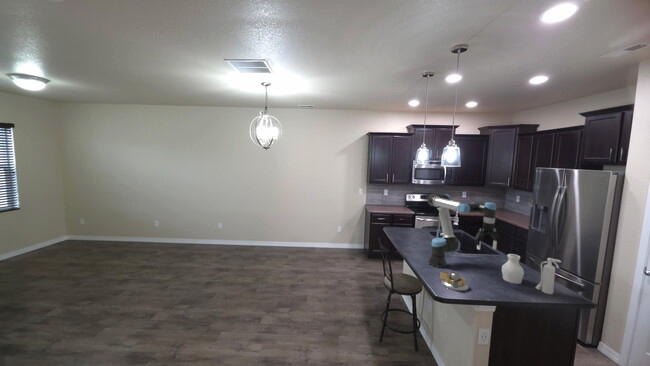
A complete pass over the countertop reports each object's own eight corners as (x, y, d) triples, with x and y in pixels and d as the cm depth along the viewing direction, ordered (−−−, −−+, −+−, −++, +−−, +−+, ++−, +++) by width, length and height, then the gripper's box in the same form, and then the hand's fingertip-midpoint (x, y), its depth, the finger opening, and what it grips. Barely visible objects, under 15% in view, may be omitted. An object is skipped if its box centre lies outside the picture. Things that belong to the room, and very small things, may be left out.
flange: (437, 284, 190) (438, 272, 190) (447, 277, 202) (448, 266, 202) (462, 294, 177) (463, 281, 176) (472, 286, 189) (473, 274, 188)
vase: (496, 277, 205) (498, 253, 204) (508, 275, 211) (509, 251, 209) (516, 285, 192) (518, 259, 190) (527, 282, 198) (529, 257, 196)
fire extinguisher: (533, 287, 190) (537, 255, 187) (554, 291, 184) (559, 258, 182) (536, 291, 183) (540, 258, 181) (557, 296, 178) (563, 261, 176)
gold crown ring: (437, 279, 193) (437, 273, 193) (444, 275, 201) (444, 269, 201) (460, 288, 181) (460, 281, 180) (467, 283, 189) (467, 276, 189)
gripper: (477, 223, 192) (475, 251, 194) (507, 223, 195) (504, 250, 197) (470, 221, 200) (468, 247, 202) (499, 221, 203) (497, 247, 205)
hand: (486, 249), depth 199 cm, fingers open, 13 cm apart
